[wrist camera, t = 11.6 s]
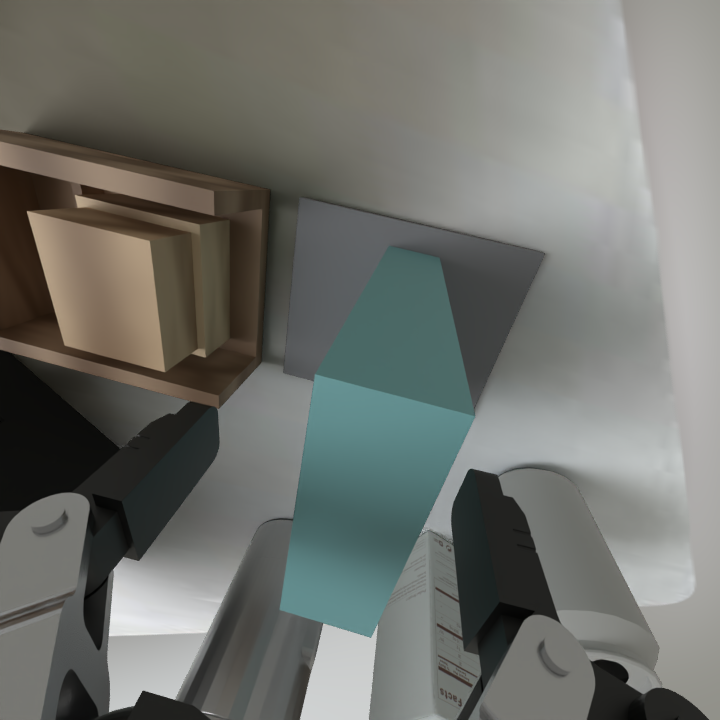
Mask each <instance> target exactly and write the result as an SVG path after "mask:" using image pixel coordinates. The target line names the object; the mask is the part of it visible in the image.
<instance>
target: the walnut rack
mask: <svg viewBox="0 0 720 720" xmlns="http://www.w3.org/2000/svg"><path fill="white" fill-rule="evenodd" d="M91 194H124V195H128V196H132V197H136V198H141V199H145V200H149V201H153V202H158V203H162V204H166V205H170V206H175V207H179V208H183V209H187V210H191V211H196V212H200V213H204V214H208V215H213V216H217V217H221V218H225V219H229V220H230V339H229V340H227V341H226V342H225V343H223V344H222V345H221V346H220V347H218V348H217V349H216V350H215V351H213V352H212V353H211V354H210V355H208V356H207V357H206V358H205V357H202V356H198V355H194V354H190V355H189V356H187V357H186V358H184V359H183V360H182V361H180V362H179V363H177V364H176V365H175V366H173V367H172V368H171V369H169V370H168V371H166V372H162V371H158V370H154V369H151V368H147V367H143V366H139V365H136V364H132V363H128V362H124V361H121V360H117V359H113V358H109V357H106V356H102V355H98V354H94V353H91V352H87V351H83V350H80V349H76V348H72V347H68V346H65V345H64V341H63V338H62V334H61V331H60V327H59V324H58V320H57V317H56V313H55V309H54V306H53V302H52V299H51V295H50V292H49V288H48V285H47V281H46V278H45V274H44V270H43V267H42V263H41V260H40V256H39V253H38V249H37V246H36V242H35V238H34V235H33V231H32V228H31V224H30V221H29V217H28V214H27V211H34V210H50V209H66V208H78V207H77V203H76V198H75V195H91ZM269 205H270V189H266V188H261V187H257V186H253V185H248V184H244V183H239V182H235V181H231V180H226V179H222V178H218V177H213V176H209V175H205V174H200V173H196V172H192V171H187V170H183V169H178V168H174V167H170V166H165V165H161V164H157V163H152V162H148V161H144V160H139V159H135V158H131V157H126V156H122V155H118V154H113V153H109V152H104V151H100V150H96V149H91V148H87V147H83V146H78V145H74V144H70V143H65V142H61V141H57V140H52V139H48V138H43V137H39V136H35V135H30V134H26V133H21V132H13V131H6V130H0V350H3V351H7V352H11V353H14V354H18V355H22V356H26V357H29V358H33V359H37V360H40V361H44V362H48V363H51V364H55V365H59V366H62V367H66V368H70V369H74V370H77V371H81V372H85V373H88V374H92V375H96V376H99V377H103V378H107V379H110V380H114V381H118V382H122V383H125V384H129V385H133V386H136V387H140V388H144V389H147V390H151V391H155V392H158V393H162V394H166V395H170V396H173V397H177V398H181V399H184V400H188V401H193V402H197V403H201V404H205V405H210V406H214V407H216V408H218V409H219V408H220V407H221V406H222V405H223V404H224V403H225V402H226V401H227V400H228V398H229V397H230V396H231V395H232V394H233V393H234V392H235V391H236V390H237V389H238V388H239V386H240V385H241V384H242V383H243V382H244V381H245V380H246V379H247V378H248V377H249V376H250V374H251V373H252V372H253V371H254V370H255V369H256V368H257V367H258V366H259V365H260V364H261V359H262V340H263V320H264V301H265V282H266V263H267V244H268V224H269Z"/></svg>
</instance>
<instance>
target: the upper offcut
mask: <svg viewBox="0 0 720 720" xmlns="http://www.w3.org/2000/svg"><path fill="white" fill-rule="evenodd" d="M27 214H28V217H29V221H30V224H31V228H32V231H33V235H34V238H35V242H36V246H37V249H38V253H39V256H40V260H41V263H42V267H43V270H44V274H45V278H46V281H47V285H48V288H49V292H50V295H51V299H52V302H53V306H54V309H55V313H56V317H57V320H58V324H59V327H60V331H61V334H62V338H63V341H64V345H65V346H68V347H72V348H76V349H80V350H83V351H87V352H91V353H94V354H98V355H102V356H106V357H109V358H113V359H117V360H121V361H124V362H128V363H132V364H136V365H139V366H143V367H147V368H151V369H154V370H158V371H162V372H166V371H168V370H169V369H171V368H172V367H173V366H175V365H176V364H177V363H179V362H180V361H182V360H183V359H184V358H186V357H187V356H189V355H190V354H191V353H193V352H194V351H195V350H197V349H198V343H197V326H196V308H195V290H194V273H193V255H192V238H191V232H187V231H182V230H178V229H174V228H170V227H166V226H162V225H157V224H153V223H149V222H145V221H141V220H137V219H133V218H128V217H124V216H120V215H116V214H112V213H108V212H103V211H99V210H95V209H91V208H87V207H81V208H66V209H50V210H34V211H27Z"/></svg>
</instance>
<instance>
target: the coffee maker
mask: <svg viewBox="0 0 720 720" xmlns="http://www.w3.org/2000/svg"><path fill="white" fill-rule="evenodd" d="M119 450H120V449H119V448H118V447H117V446H116V445H115V444H114V443H112V442H111V441H110V440H109V439H108V438H107V437H106V436H104V435H103V434H102V433H101V432H100V431H99V430H97V429H96V428H95V427H94V426H93V425H92V424H91V423H89V422H88V421H87V420H86V419H85V418H84V417H83V416H81V415H80V414H79V413H78V412H77V411H76V410H74V409H73V408H72V407H71V406H70V405H69V404H68V403H66V402H65V401H64V400H63V399H62V398H61V397H60V396H58V395H57V394H56V393H55V392H54V391H53V390H52V389H50V388H49V387H48V386H47V385H46V384H45V383H43V382H42V381H41V380H40V379H39V378H38V377H37V376H35V375H34V374H33V373H32V372H31V371H30V370H29V369H27V368H26V367H25V366H24V365H23V364H22V363H20V362H19V361H18V360H17V359H16V358H15V357H14V356H12V355H11V354H10V353H9V352H7V351H3V350H0V512H3V511H21V510H23V509H25V508H26V507H27V506H29V505H31V504H33V503H34V502H36V501H38V500H40V499H43V498H45V497H48V496H51V495H55V494H60V493H71V492H72V491H74V490H75V489H76V488H77V487H79V486H80V485H81V484H82V483H83V482H84V481H85V480H86V479H88V478H89V477H90V476H91V475H92V474H93V473H94V472H96V471H97V470H98V469H99V468H100V467H101V466H102V465H103V464H105V463H106V462H107V461H108V460H109V459H110V458H111V457H113V456H114V455H115V454H116V453H117V452H118V451H119Z"/></svg>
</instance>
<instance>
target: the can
mask: <svg viewBox="0 0 720 720" xmlns="http://www.w3.org/2000/svg"><path fill="white" fill-rule="evenodd" d="M498 478H499V480H500V484H501V488H502V491H503V495H505V496H509V497H513V498H514V500H515V501H516V502H517V504H518V505H519V507H520V508H521V510H522V511H523V512H524V514H525V516H526V519H527V522H528V525H529V528H530V531H531V537H533V540H534V544H535V547H536V553H538V556H539V559H540V562H541V565H542V568H543V571H544V574H545V578H546V581H547V584H548V587H549V590H550V593H551V596H552V599H553V602H554V605H555V609H556V612H557V615H558V617H559V620H560V622H561V624H562V625H563V626H564V627H565V628H567V629H568V630H569V631H570V632H571V633H572V634H573V635H574V637H575V638H576V639H577V640H578V641H579V643H580V644H581V646H582V647H583V649H584V650H585V652H586V654H587V656H588V658H589V659H590V660H591V661H592V662H593V663H594V664H596V665H597V666H599V667H600V668H602V669H603V670H605V671H607V672H608V673H610V674H611V675H613V676H615V677H616V678H618V679H619V680H621V681H623V682H624V683H626V684H628V685H629V686H631V687H632V688H634V689H636V690H637V691H639V692H640V693H642V694H645V693H646V692H648V691H649V690H651V689H653V688H662V683H661V681H660V679H659V678H658V676H657V674H656V672H655V671H653V670H654V667H655V665H656V662H657V658H658V653H659V646H658V644H657V642H656V640H655V638H654V636H653V634H652V632H651V630H650V628H649V626H648V624H647V622H646V620H645V618H644V617H643V615H642V613H641V611H640V609H639V607H638V605H637V603H636V601H635V599H634V597H633V595H632V593H631V591H630V589H629V587H628V585H627V583H626V581H625V579H624V577H623V575H622V573H621V571H620V569H619V568H618V566H617V564H616V562H615V560H614V558H613V556H612V554H611V552H610V550H609V548H608V546H607V544H606V542H605V540H604V538H603V536H602V534H601V532H600V530H599V528H598V526H597V524H596V522H595V520H594V519H593V517H592V515H591V513H590V511H589V509H588V507H587V505H586V503H585V501H584V499H583V497H582V495H581V493H580V491H579V490H578V488H577V486H576V485H575V484H574V483H573V482H571V481H570V480H569V479H567V478H566V477H565V476H562V475H559V474H557V473H554V472H552V471H547V470H541V469H534V468H522V469H515V470H512V471H509V472H505V473H504V474H502V475H500V476H499V477H498Z"/></svg>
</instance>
